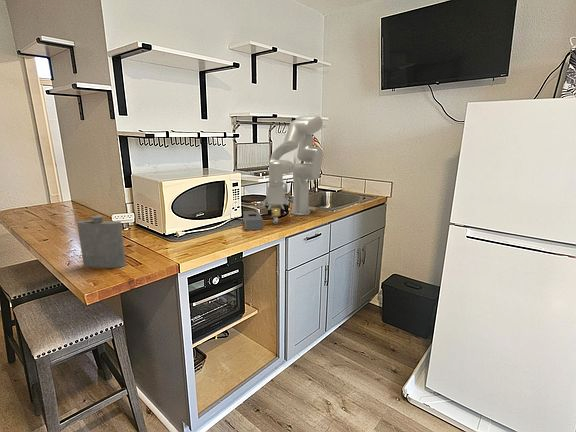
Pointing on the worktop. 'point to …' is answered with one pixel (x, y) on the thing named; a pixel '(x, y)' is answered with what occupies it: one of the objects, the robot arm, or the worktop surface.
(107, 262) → the hip flask
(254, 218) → the gray slotted box
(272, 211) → the light bulb
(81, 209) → the worktop surface
